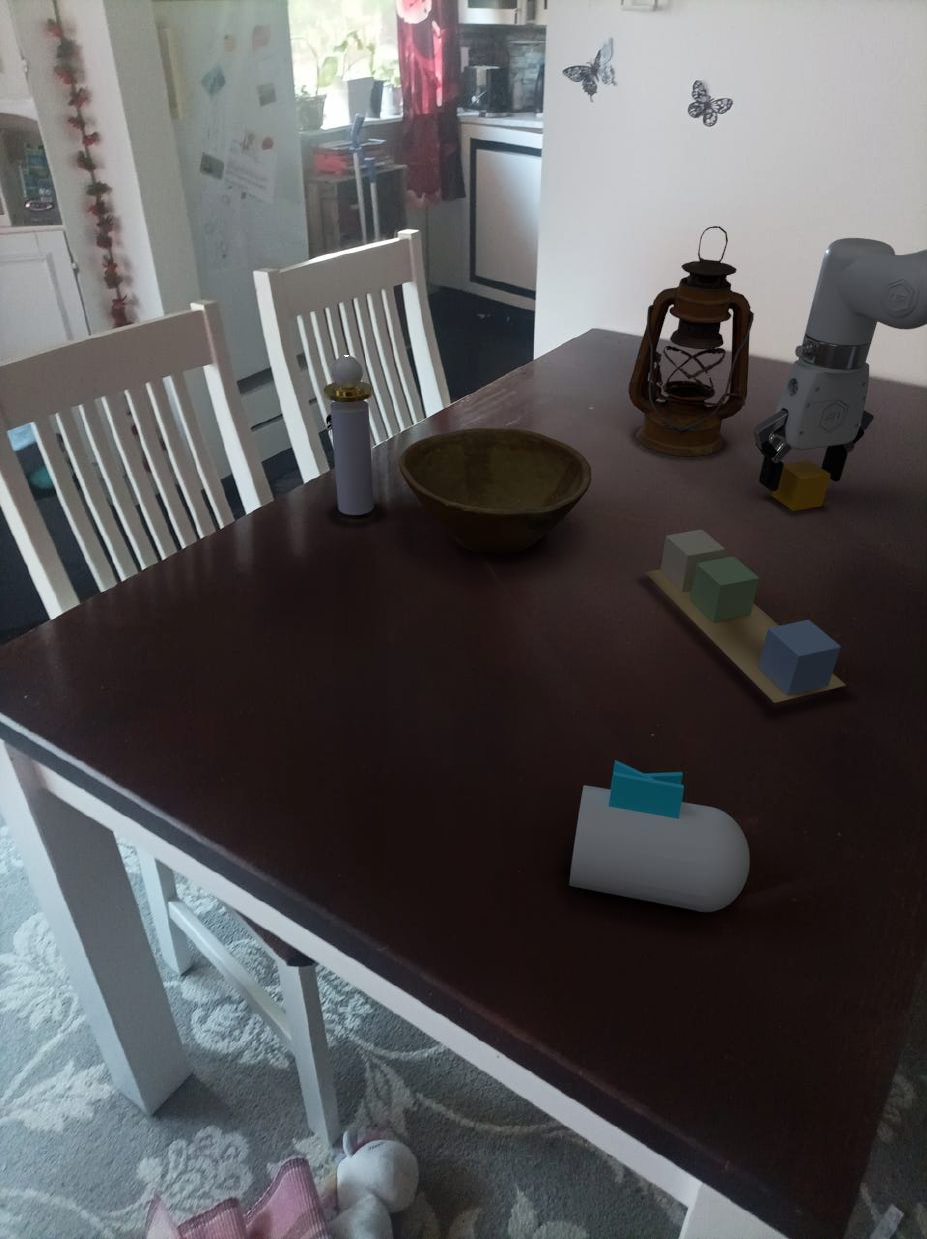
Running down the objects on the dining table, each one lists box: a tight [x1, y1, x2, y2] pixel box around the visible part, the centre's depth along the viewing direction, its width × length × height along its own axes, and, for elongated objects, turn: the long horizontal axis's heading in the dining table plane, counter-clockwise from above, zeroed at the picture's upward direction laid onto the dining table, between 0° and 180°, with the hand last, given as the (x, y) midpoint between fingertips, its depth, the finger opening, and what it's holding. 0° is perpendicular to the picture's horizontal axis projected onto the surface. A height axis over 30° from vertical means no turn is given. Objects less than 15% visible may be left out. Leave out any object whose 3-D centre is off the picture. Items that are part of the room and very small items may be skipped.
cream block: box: [660, 529, 726, 592], centre depth 95 cm, size 5×5×5 cm
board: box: [644, 568, 847, 704], centre depth 90 cm, size 8×24×1 cm, turn 19°
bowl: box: [398, 427, 592, 555], centre depth 103 cm, size 22×23×10 cm
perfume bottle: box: [323, 355, 375, 516], centre depth 105 cm, size 6×6×20 cm
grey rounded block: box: [568, 759, 751, 913], centre depth 64 cm, size 12×9×12 cm
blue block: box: [758, 619, 842, 696], centre depth 81 cm, size 5×5×5 cm
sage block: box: [690, 556, 760, 623], centre depth 91 cm, size 5×5×5 cm
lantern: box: [628, 225, 755, 458], centre depth 123 cm, size 17×13×30 cm
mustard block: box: [771, 459, 831, 512], centre depth 114 cm, size 5×5×5 cm
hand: (799, 481), depth 114 cm, fingers open, 9 cm apart
